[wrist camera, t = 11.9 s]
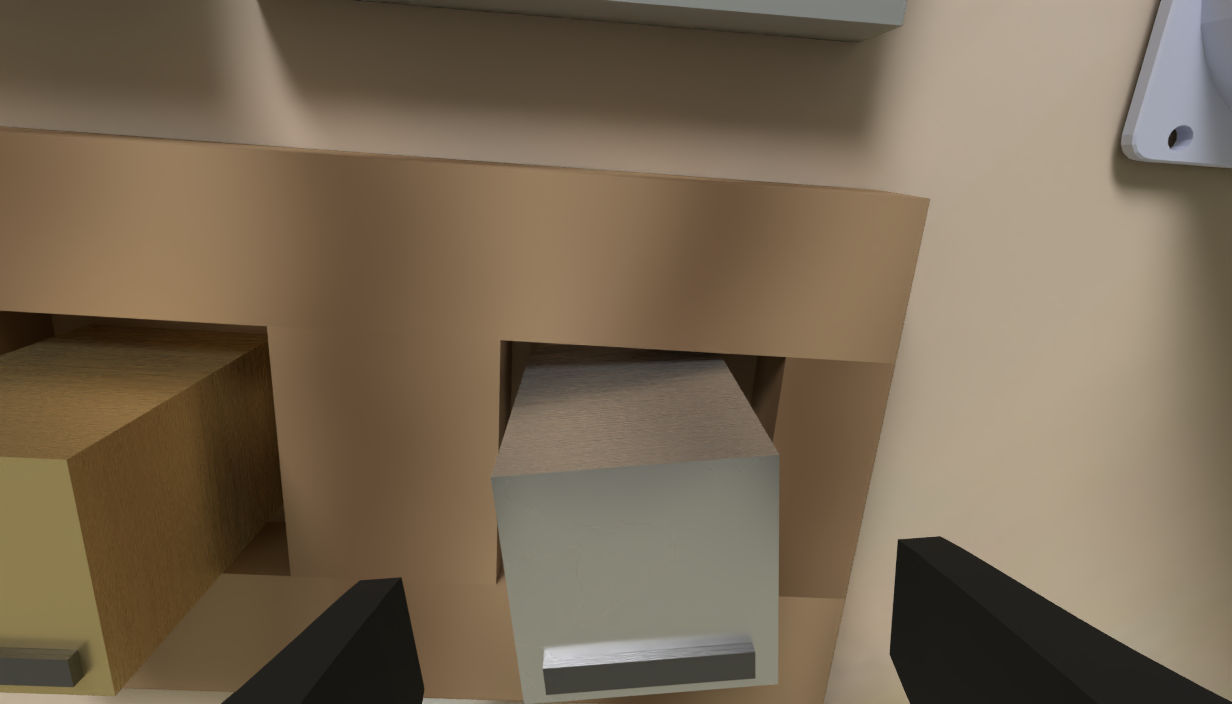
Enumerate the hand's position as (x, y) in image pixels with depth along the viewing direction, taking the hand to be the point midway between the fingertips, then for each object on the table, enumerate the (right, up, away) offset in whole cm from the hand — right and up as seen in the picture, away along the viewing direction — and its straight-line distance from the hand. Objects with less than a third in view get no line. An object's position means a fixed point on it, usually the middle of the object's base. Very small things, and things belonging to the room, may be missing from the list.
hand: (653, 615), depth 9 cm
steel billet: (0, +2, +6) cm, 6 cm away
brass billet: (-10, +2, +5) cm, 12 cm away
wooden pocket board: (-5, +2, +6) cm, 8 cm away
